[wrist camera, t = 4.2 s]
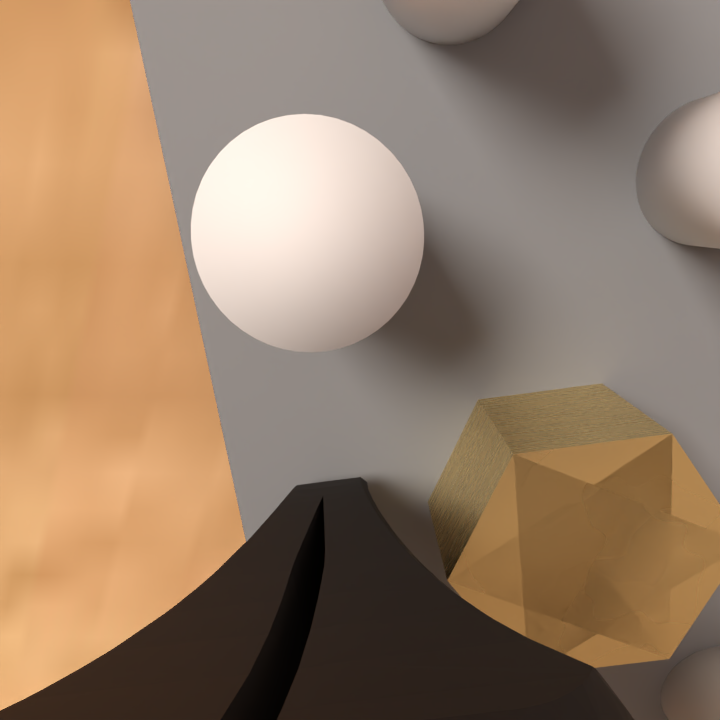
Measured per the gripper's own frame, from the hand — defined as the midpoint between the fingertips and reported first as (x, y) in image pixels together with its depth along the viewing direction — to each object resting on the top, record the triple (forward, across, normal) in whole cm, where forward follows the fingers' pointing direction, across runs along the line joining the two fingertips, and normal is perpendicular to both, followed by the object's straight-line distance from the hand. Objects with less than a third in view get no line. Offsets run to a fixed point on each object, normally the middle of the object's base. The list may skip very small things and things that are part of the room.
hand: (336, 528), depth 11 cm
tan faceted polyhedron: (+1, -4, 0) cm, 4 cm away
